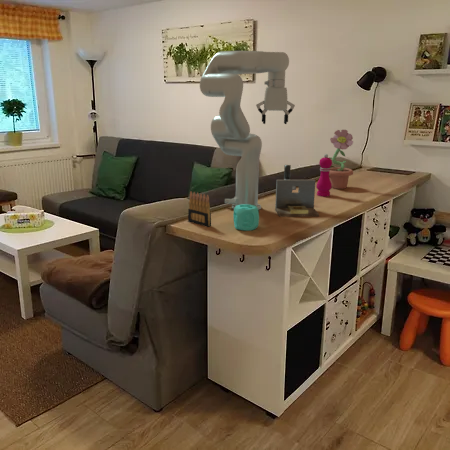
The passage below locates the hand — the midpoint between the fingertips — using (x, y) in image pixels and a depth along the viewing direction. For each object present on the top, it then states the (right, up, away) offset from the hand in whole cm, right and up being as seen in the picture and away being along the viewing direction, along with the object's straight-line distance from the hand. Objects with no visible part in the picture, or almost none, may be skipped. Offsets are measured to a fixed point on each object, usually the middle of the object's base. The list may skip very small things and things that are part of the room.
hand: (274, 123), depth 206 cm
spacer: (+7, -39, -17) cm, 43 cm away
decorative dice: (-15, -47, -38) cm, 62 cm away
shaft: (+6, -28, -3) cm, 29 cm away
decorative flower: (+37, -26, +34) cm, 56 cm away
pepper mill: (+25, -32, +16) cm, 43 cm away
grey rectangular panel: (+7, -39, -13) cm, 41 cm away
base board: (+7, -41, -17) cm, 45 cm away
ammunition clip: (-32, -46, -33) cm, 65 cm away
